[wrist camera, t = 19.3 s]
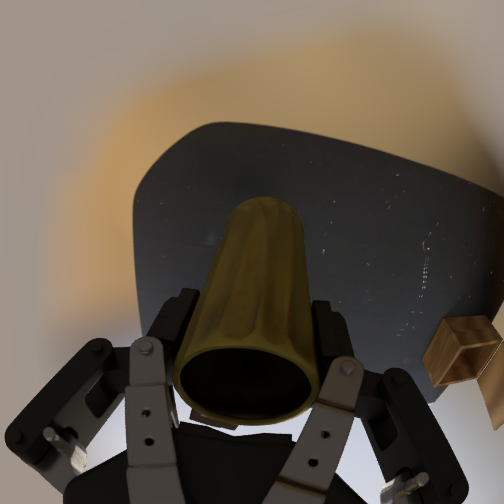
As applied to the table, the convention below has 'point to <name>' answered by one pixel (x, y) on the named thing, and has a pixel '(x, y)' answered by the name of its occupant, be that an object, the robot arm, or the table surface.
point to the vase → (253, 323)
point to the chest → (460, 349)
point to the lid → (494, 387)
